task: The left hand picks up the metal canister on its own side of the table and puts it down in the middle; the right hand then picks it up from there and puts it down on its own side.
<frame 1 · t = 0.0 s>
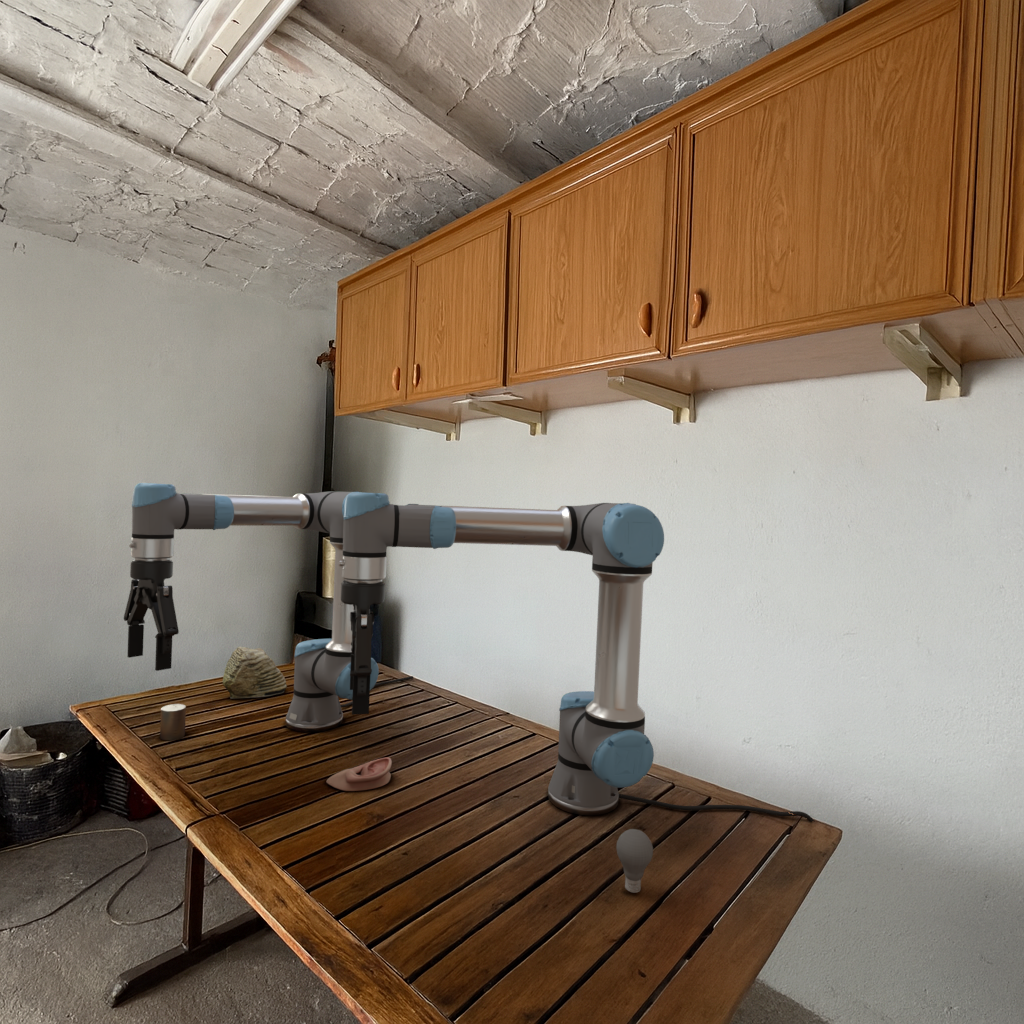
left hand: (148, 662, 129), 28 cm above the table, tool pointing down, fingers open, 13 cm apart
right hand: (358, 700, 111), 28 cm above the table, tool pointing down, fingers open, 13 cm apart
light bulb: (632, 891, 106), on the table
canister: (172, 736, 163), on the table
anatomical model: (359, 781, 142), on the table
fossil: (254, 694, 198), on the table
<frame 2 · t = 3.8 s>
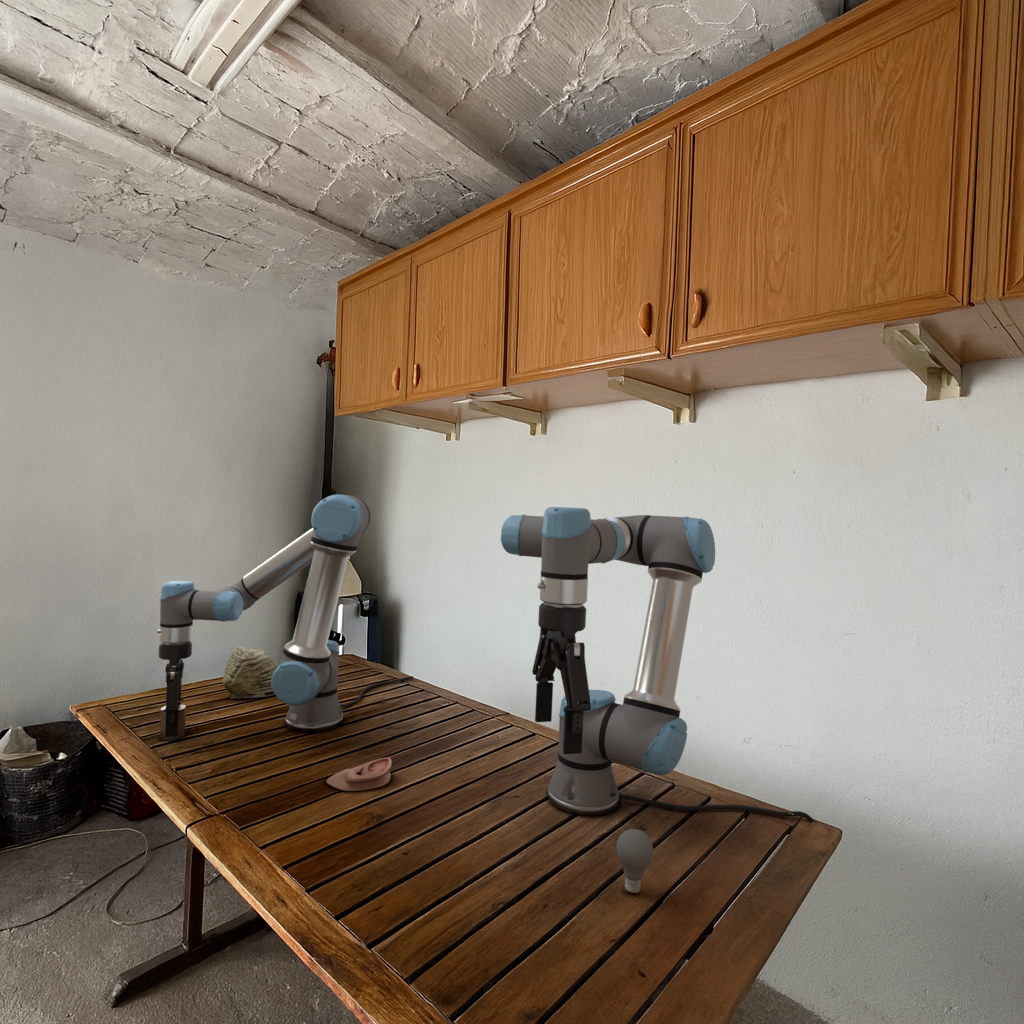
left hand: (172, 731, 163), 1 cm above the table, tool pointing down, fingers closed on canister, 6 cm apart
right hand: (556, 736, 101), 27 cm above the table, tool pointing down, fingers open, 13 cm apart
canister: (172, 736, 163), on the table, touching left hand
everything else where it was.
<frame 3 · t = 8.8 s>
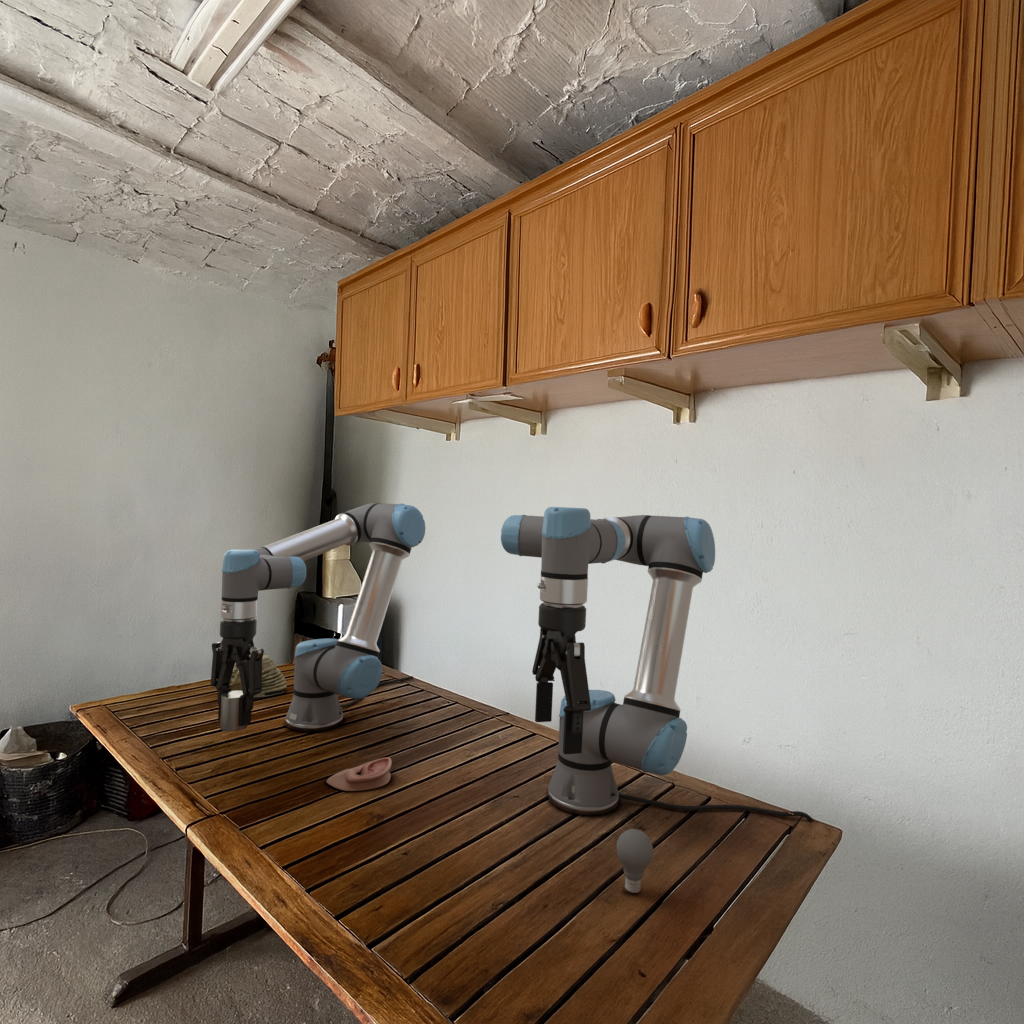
left hand: (234, 721, 142), 12 cm above the table, tool pointing down, fingers closed on canister, 6 cm apart
right hand: (556, 736, 101), 27 cm above the table, tool pointing down, fingers open, 13 cm apart
canister: (233, 727, 142), point 11 cm above the table, touching left hand
everything else where it was.
when the left hand's fingers open (3 cm above the table, at t = 13.7 s): canister drops 2 cm, on the table.
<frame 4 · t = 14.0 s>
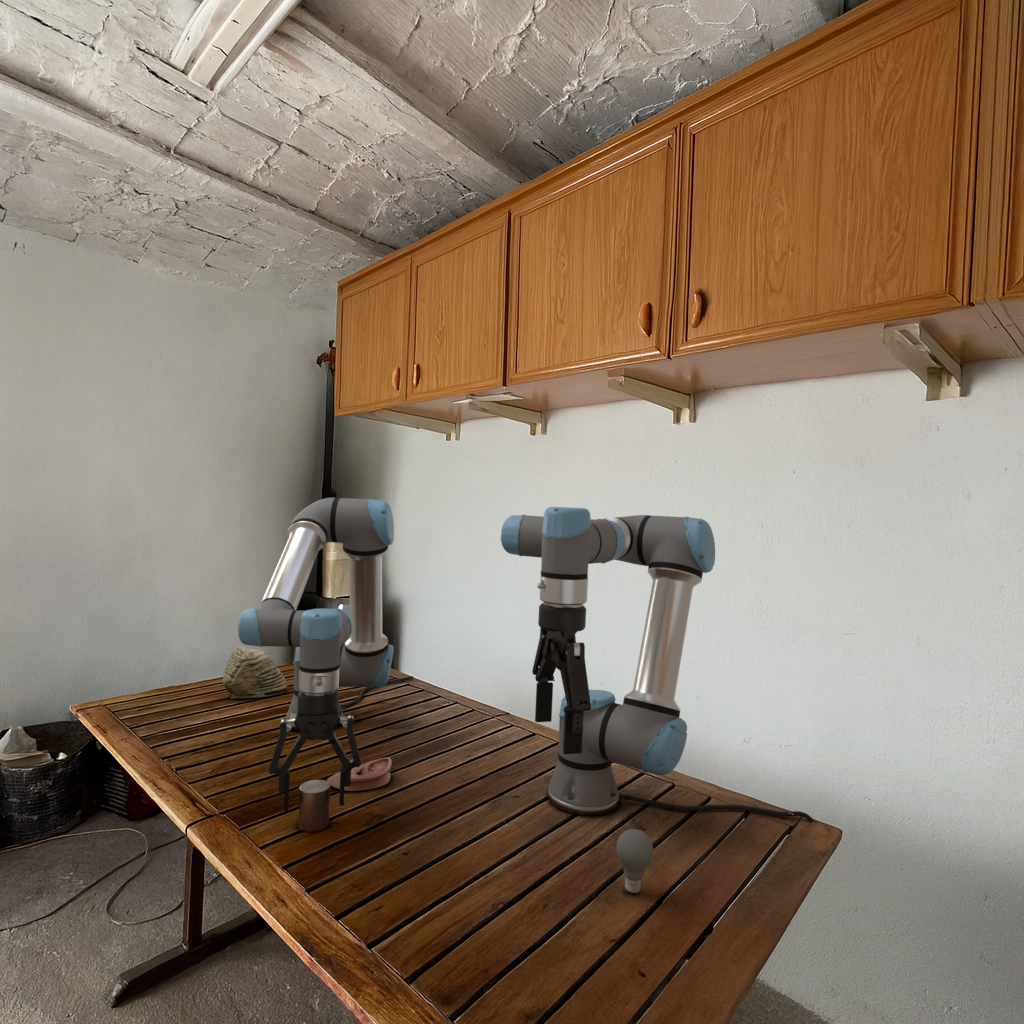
left hand: (314, 805, 123), 4 cm above the table, tool pointing down, fingers open, 9 cm apart
right hand: (556, 736, 101), 27 cm above the table, tool pointing down, fingers open, 13 cm apart
canister: (313, 824, 123), on the table
everything else where it was.
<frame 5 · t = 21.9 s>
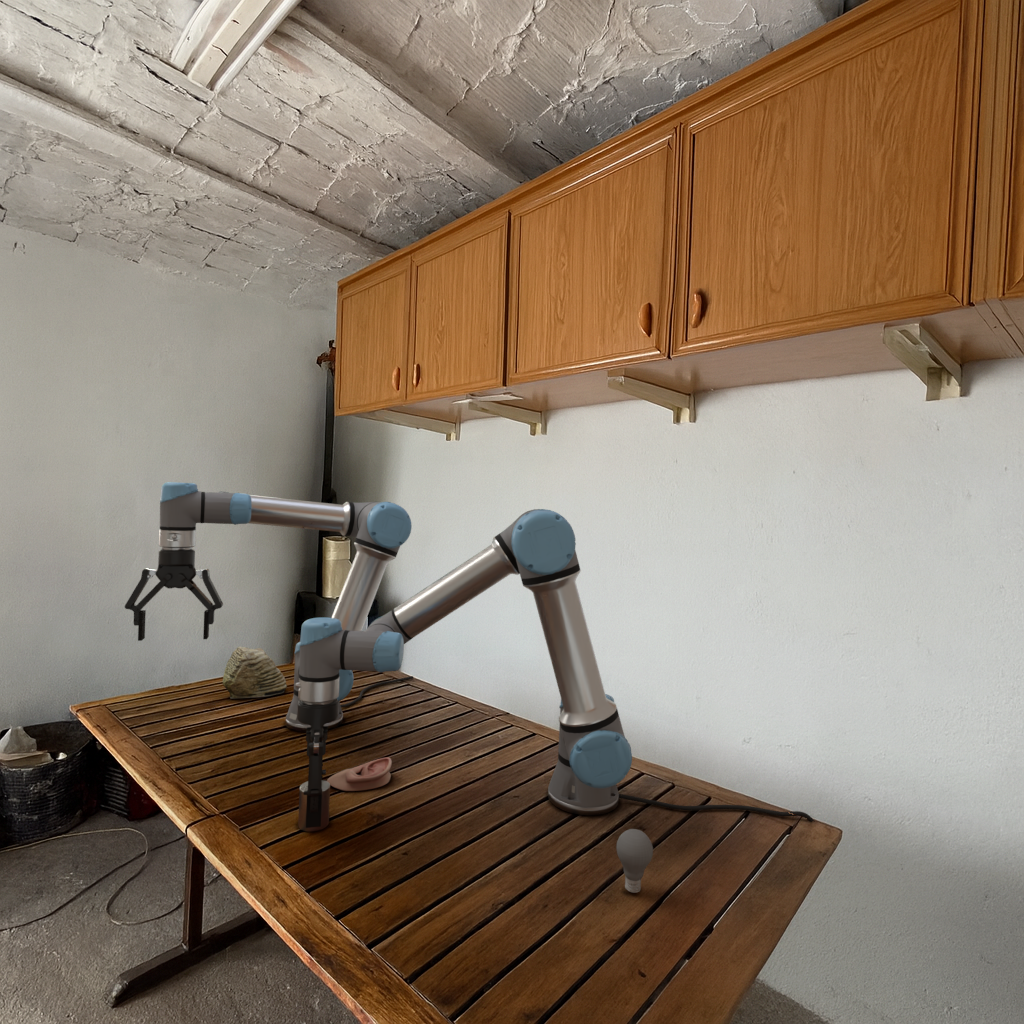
left hand: (174, 638, 148), 28 cm above the table, tool pointing down, fingers open, 13 cm apart
right hand: (313, 817, 123), 1 cm above the table, tool pointing down, fingers closed on canister, 6 cm apart
canister: (313, 824, 123), on the table, touching right hand
everything else where it was.
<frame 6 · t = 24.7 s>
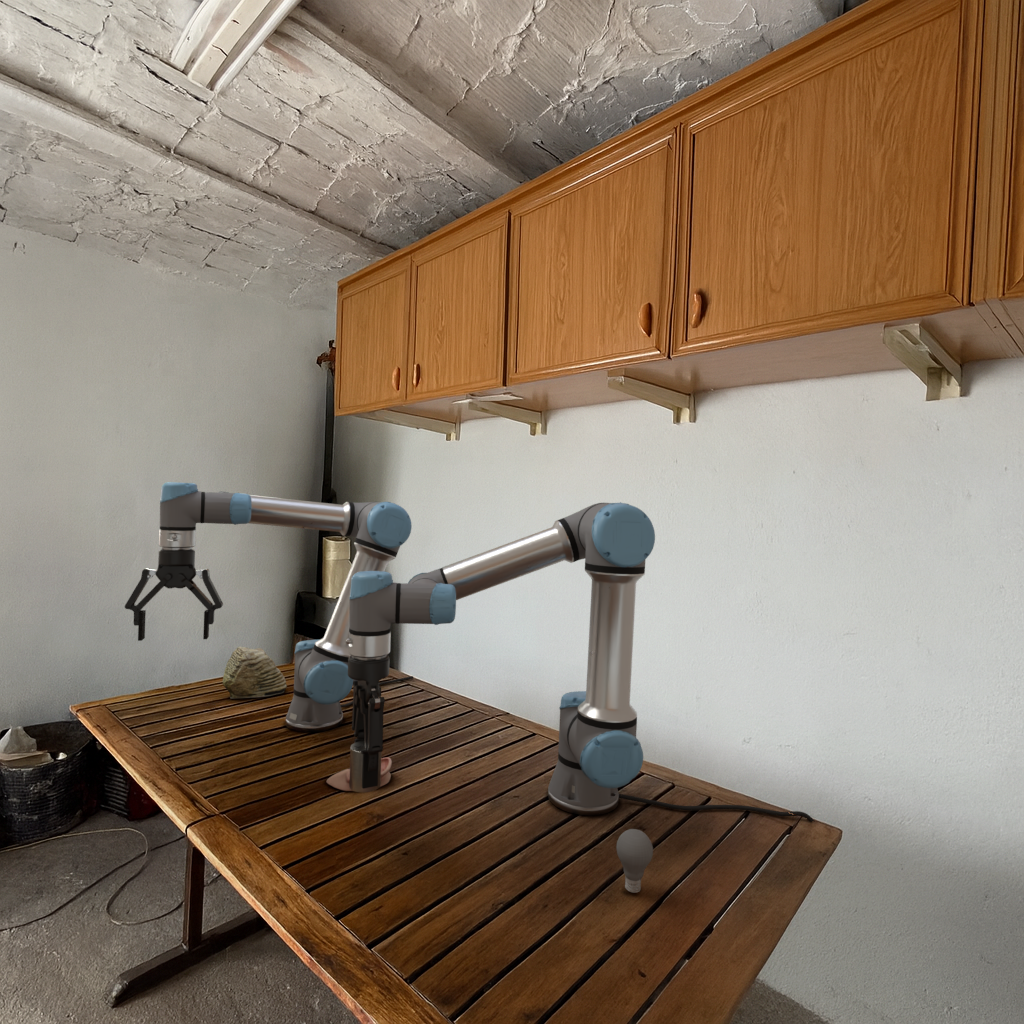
left hand: (174, 638, 148), 28 cm above the table, tool pointing down, fingers open, 13 cm apart
right hand: (365, 778, 118), 11 cm above the table, tool pointing down, fingers closed on canister, 6 cm apart
canister: (365, 785, 118), point 10 cm above the table, touching right hand
everything else where it was.
when the right hand's fingers open (3 cm above the table, at t = 27.7 s): canister drops 2 cm, on the table.
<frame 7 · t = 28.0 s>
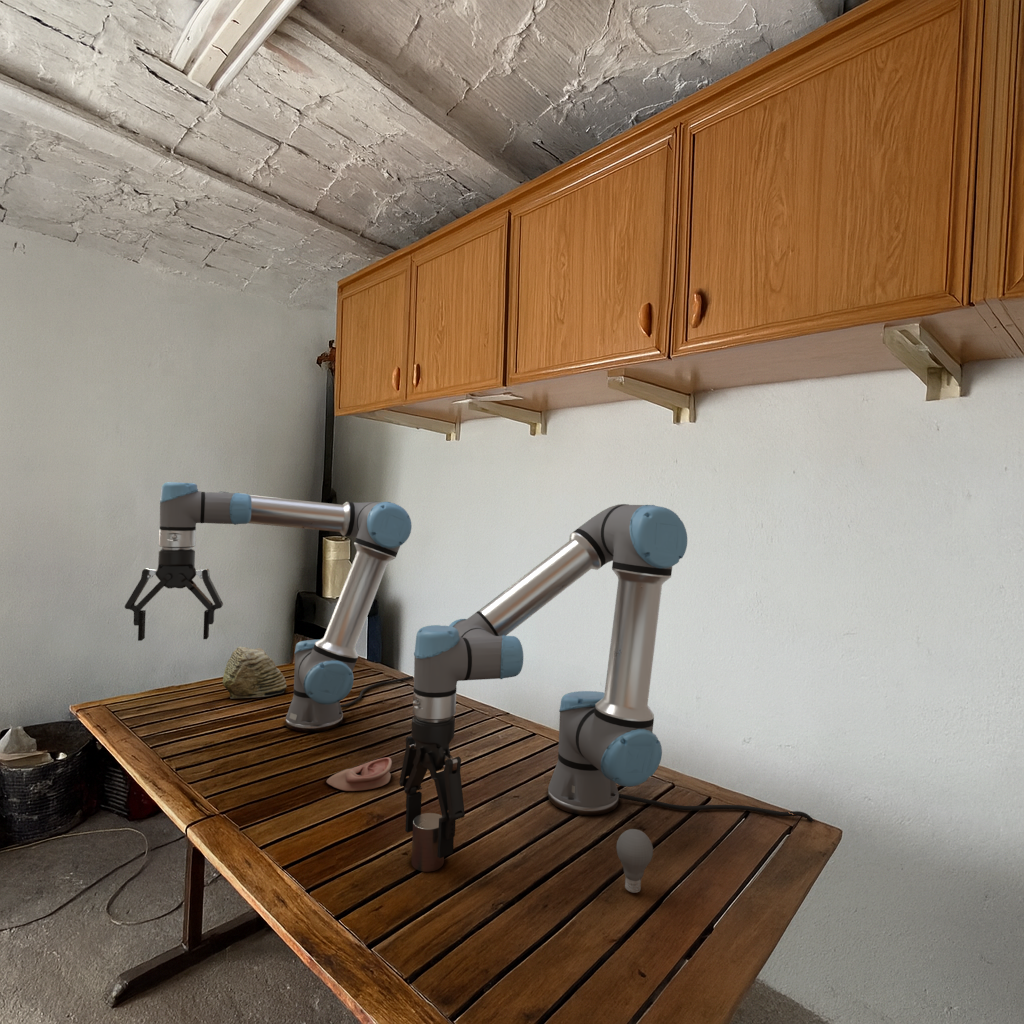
left hand: (174, 638, 148), 28 cm above the table, tool pointing down, fingers open, 13 cm apart
right hand: (428, 841, 111), 4 cm above the table, tool pointing down, fingers open, 9 cm apart
canister: (427, 862, 111), on the table
everything else where it was.
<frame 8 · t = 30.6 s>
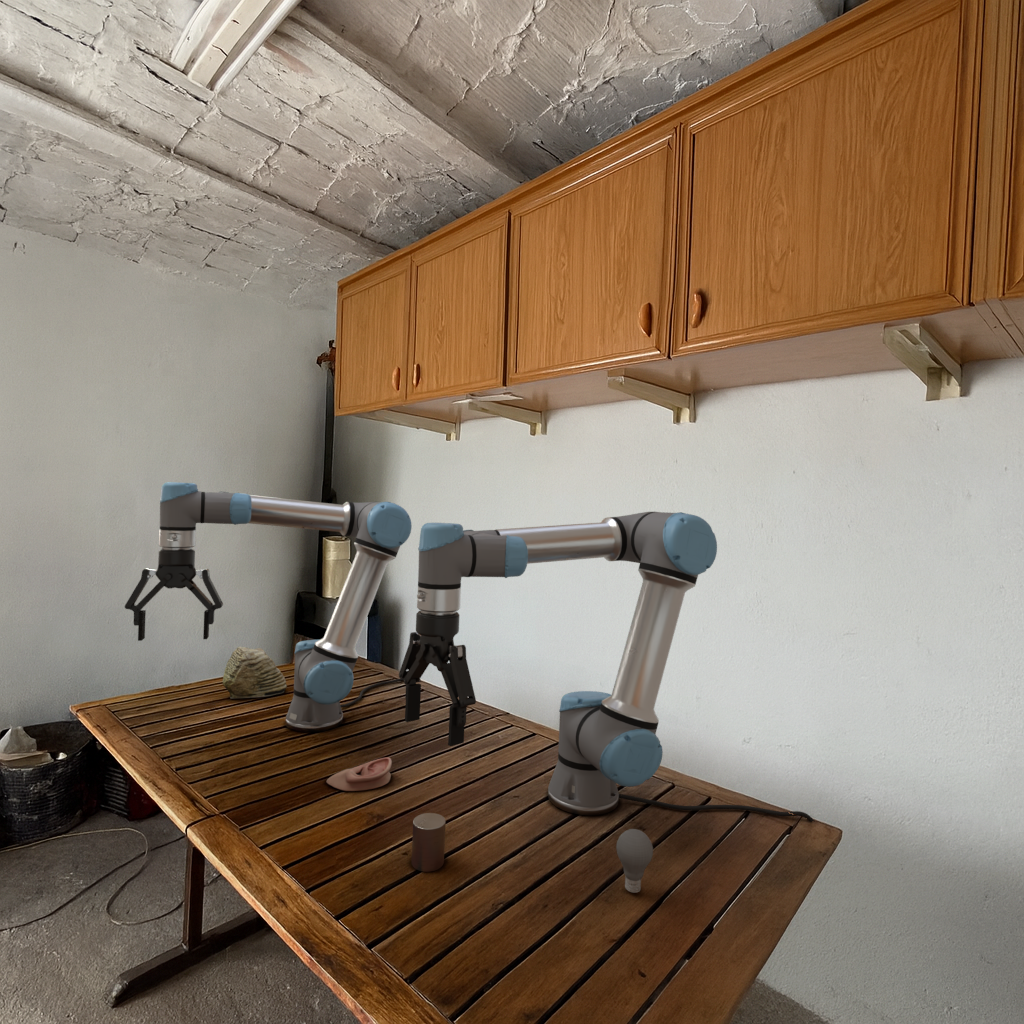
left hand: (174, 638, 148), 28 cm above the table, tool pointing down, fingers open, 13 cm apart
right hand: (433, 731, 111), 23 cm above the table, tool pointing down, fingers open, 13 cm apart
nothing on the table moved.
at the end: canister inside the target area (0.0 cm from its centre), on the table; canister tilted 0°; the two hands never held the canister at the same time; the left hand is holding nothing; the right hand is holding nothing; canister at rest at the end (0.0 cm/s) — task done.
